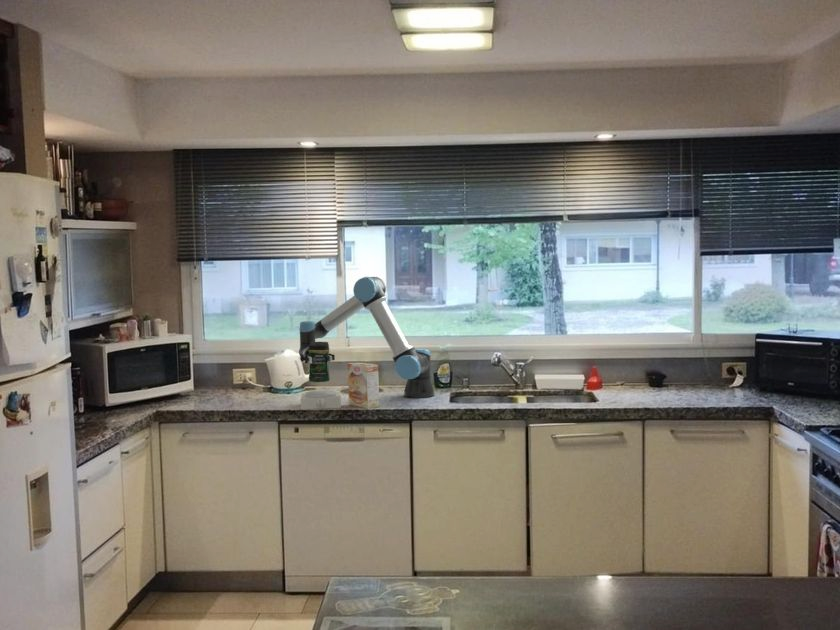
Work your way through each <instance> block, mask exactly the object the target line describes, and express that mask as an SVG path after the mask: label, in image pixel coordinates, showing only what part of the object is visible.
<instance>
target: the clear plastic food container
mask: <svg viewBox="0 0 840 630" xmlns="http://www.w3.org/2000/svg"><path fill="white" fill-rule="evenodd" d="M300 408H301V409H300V410H325V409H342V398H341V392H340V391H334V390H326V389H325V390H313V391H312V390H311V391H307V392H304V393H301V395H300Z"/></svg>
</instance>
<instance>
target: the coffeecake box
mask: <svg viewBox="0 0 840 630" xmlns="http://www.w3.org/2000/svg"><path fill="white" fill-rule="evenodd" d="M347 368H348V369H347V371H348V375H347V376H348V377H347V378H348V379H347V380H348V404H349V405H351V406H355V407H359V408H362V409H373V408H379V407H380V386H379V384H380V383H379V381H380V380H379V364H373V363H368V362H367V363H366V362H360V361H359V362H358V361H357V362H350V363H347Z"/></svg>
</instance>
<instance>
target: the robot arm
mask: <svg viewBox="0 0 840 630" xmlns="http://www.w3.org/2000/svg"><path fill="white" fill-rule="evenodd" d="M352 291H353V296H352V297H350V298H349V299H347V300H346V301H345V302H344V303H341V305H338V307H336V308H335V309H334V310H332V311H331V312H329V313H328V314H327V315H325V316H324V317H323V318H321V319H320V320H318V321H316V322H315V321H313V320H307V321H306V320H305V321H301V322H300V323H299V343H300V344H299V350H298V354H299V360H300V362H302V363H305V364H309V365H310V364H311V363H312V357H310V354H309V344H310V343H311V342H316V340H318V339H323V338H324V337H326V336H327V335H328V333H329V332H331V331H332V330H334V329H335V328H336V327H338V326H339V325H341V324H342V323H344V322H345V321H346V320H348V319H349V318H351V317H352V316H353V315H355V314H356V313H358V312H359V311H360V310H361V309H363V308H364V309H365V310H368V311H369V312H370V313H371V316H372V317H373V318H374V321H375V322H376V324H377V326H378V328H379V330H380V331H381V334H382V335H383V337H384V339H385V341H386V343H387V345H388V346H389V348H390V350H391V352H392V353H393V354H392V360H393V362H394V364H395V365H394V369H395V371H396V374H397V375H398V376H399V377H400V378H402V379H403V380H406V384H405V388H404V392H403V394H404V395H403V396H404V397H407V398H415V399H419V398H424V399H425V398H429V397H434V396H435V393H436V392H435V389H434V385H433V383H432V379H431V377H432V376H431V375H432V374H431V352H430V350H429V349H420V348H419V349H418V348H417V349H415V347H414V346H413V345H410V344H409V342H408V340H407V339H406V337H405V334H404V333H403V331H402V329H401V328H400V326H399V323H398V322H397V321H396V318H395V317H394V315H393V313H392V311H391V310H390V307H389V306H388V304H387V302H386V299H387V295H386V291H387V286H386V283H385V281H384V280H383V279H382V278H380V277H378V276H364V277H361V278H359V279H357V280H356V282H355V283H354V285H353V290H352ZM335 360H336V357H335V354H333V353H329V354H328V363H333V361H335Z"/></svg>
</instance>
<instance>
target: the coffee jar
mask: <svg viewBox="0 0 840 630" xmlns="http://www.w3.org/2000/svg"><path fill="white" fill-rule="evenodd" d="M309 354H310V357H312V363H311V364H310V363H309V370H308V371H309V372H308V373H309V374H308V380H309V382H310V383H327V382H329V381H330V380H331V376H330V375H331V374H330V367H329V364H330V363H329V361H328V354H330V345H329V342H328V341H315V342H311V343H310V344H309Z"/></svg>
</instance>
